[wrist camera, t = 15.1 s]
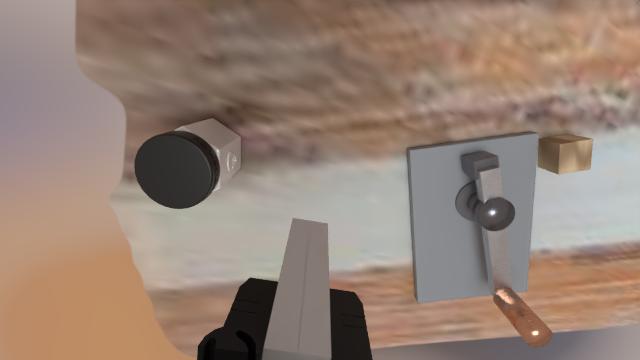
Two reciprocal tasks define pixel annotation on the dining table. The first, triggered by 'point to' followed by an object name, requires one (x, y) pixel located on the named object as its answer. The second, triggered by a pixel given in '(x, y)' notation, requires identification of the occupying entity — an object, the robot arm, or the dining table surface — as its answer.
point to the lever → (500, 245)
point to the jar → (188, 163)
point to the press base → (466, 215)
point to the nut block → (565, 153)
